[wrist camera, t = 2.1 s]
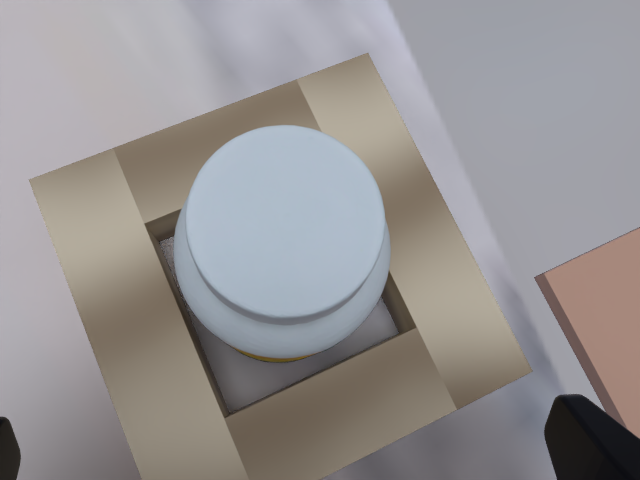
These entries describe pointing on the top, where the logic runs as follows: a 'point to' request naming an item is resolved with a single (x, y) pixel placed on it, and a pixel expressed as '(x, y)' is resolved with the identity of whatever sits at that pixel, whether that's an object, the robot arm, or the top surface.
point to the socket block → (181, 338)
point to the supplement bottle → (282, 243)
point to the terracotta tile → (603, 320)
